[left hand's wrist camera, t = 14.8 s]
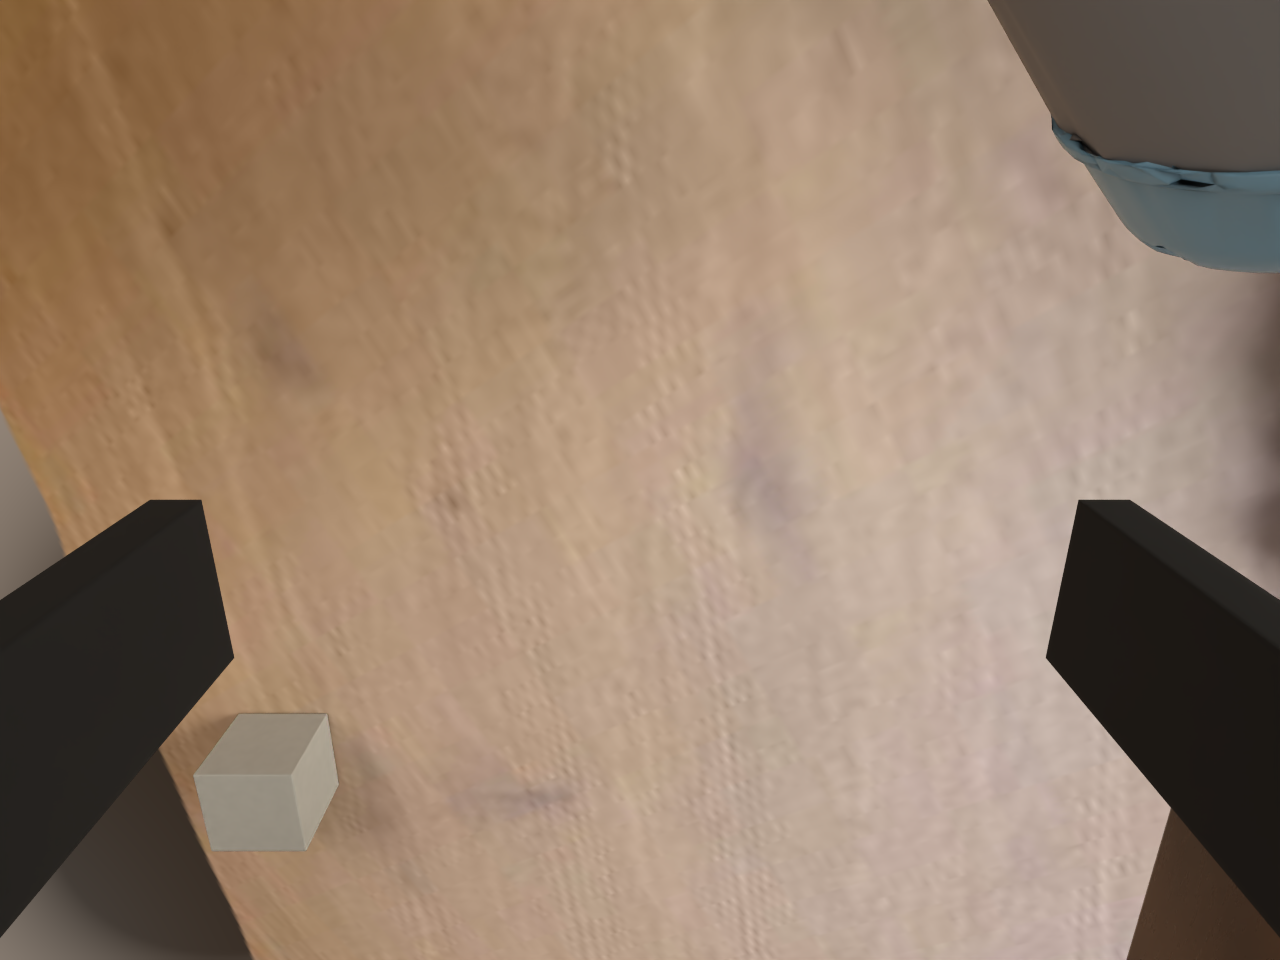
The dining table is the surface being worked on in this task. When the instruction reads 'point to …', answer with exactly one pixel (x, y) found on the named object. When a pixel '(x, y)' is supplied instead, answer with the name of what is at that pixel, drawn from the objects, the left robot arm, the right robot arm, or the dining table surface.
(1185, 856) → the bar
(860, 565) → the dining table surface
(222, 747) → the rubber block
